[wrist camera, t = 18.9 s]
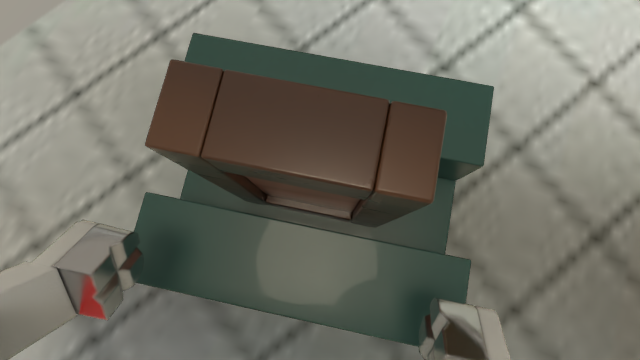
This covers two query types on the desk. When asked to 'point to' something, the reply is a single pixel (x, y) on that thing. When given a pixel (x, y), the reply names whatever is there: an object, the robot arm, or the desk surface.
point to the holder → (314, 231)
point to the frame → (299, 143)
